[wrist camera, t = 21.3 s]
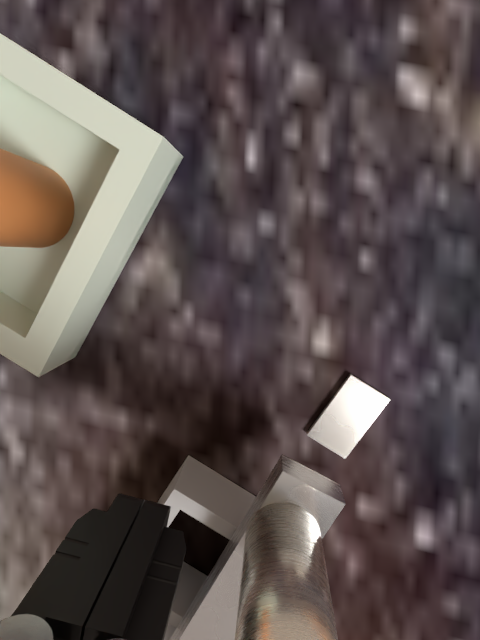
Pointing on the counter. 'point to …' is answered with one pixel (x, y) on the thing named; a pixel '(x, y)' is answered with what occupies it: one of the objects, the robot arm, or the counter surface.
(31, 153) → the tray
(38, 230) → the pin
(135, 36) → the counter surface
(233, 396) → the counter surface
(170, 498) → the collar
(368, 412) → the crank flange
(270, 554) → the crank
